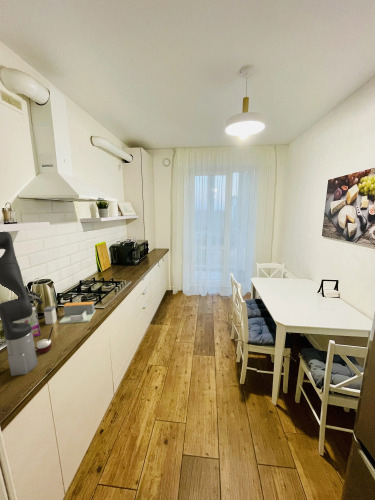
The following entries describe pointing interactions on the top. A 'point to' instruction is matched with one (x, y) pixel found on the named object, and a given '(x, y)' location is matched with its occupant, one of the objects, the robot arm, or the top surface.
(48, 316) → the white grey-topped block
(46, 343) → the cocoa
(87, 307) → the orange-topped grey blocks
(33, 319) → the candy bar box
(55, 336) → the top surface
